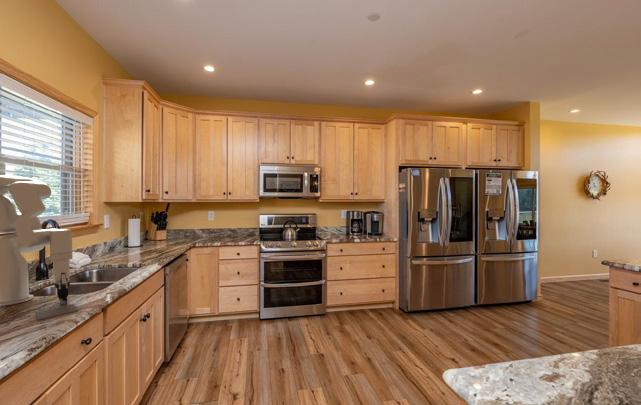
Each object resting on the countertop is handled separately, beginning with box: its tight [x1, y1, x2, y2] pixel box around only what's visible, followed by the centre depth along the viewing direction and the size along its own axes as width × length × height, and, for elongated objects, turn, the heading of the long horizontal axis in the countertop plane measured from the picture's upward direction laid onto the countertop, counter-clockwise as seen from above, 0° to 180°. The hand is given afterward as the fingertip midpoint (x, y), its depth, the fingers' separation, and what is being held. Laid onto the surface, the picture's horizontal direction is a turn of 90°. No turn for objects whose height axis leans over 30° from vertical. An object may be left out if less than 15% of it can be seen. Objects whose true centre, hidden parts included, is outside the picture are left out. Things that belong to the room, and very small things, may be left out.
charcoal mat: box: [35, 303, 79, 322], centre depth 117 cm, size 12×12×1 cm
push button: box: [54, 281, 71, 306], centre depth 127 cm, size 7×5×10 cm
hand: (62, 296), depth 128 cm, fingers closed on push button, 4 cm apart
